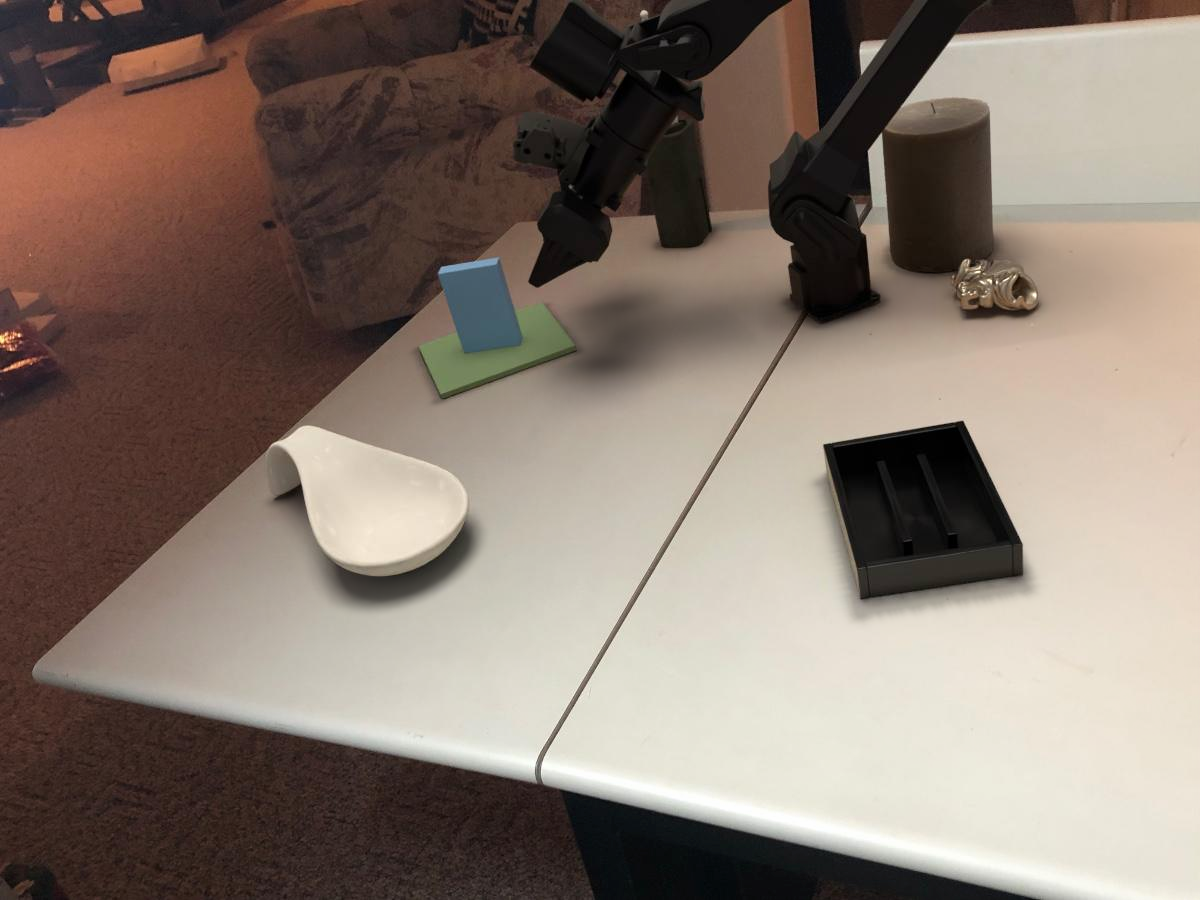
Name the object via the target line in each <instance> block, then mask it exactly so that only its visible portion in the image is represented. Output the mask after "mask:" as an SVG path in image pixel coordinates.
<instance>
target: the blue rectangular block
mask: <svg viewBox="0 0 1200 900" xmlns="http://www.w3.org/2000/svg"><path fill="white" fill-rule="evenodd" d="M437 276H438V279H439V282H440V285H441V288H442V290H443V294H444V297H445V300H446V304H447V306H448V309H449V312H450V315H451V318H452V321H453V325H454V327H455V330H456V332H457V333H458V336H459V339H460V342H461V345H462V348H463V351H464V353H470V352H476V351H483V350H490V349H497V348H504V347H510V346H517V345H520V344H521V341H522V338H523V336H522V333H521V330H520V326H519V323H518V319H517V316H516V313H515V311H516V308H515V307H514V302H513V300H512V299H513V298H512V296H511V292H510V289H509V287H508V286H509V285H508V283H507V279H506V275H505V272H504V269H503V265H502V262H501V259H500V257H492V258H487V259H481V260H475V261H469V262H462V263H457V264H451V265H444V266H441V267H440V269H439V270H438V273H437Z"/></svg>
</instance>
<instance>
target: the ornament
mask: <svg viewBox="0 0 1200 900" xmlns="http://www.w3.org/2000/svg"><path fill="white" fill-rule="evenodd" d="M970 264H971V260H970V259H965V260H963V261H962V263H961V265H960V267H959V269H957V271H956V273H955V274H952V275H951V276H950V279H951V287H952V288H953V289H955V290H956V296H957V298H958V299H960V305H961V308H962V309H963V310H976V309H978V308H979V306H981V307H983V308H985V309H989V308H992V307H993V305H994V304H995V305H996V306H997V307H999V308H1001V309H1002V310H1005V311H1013V312H1014V311H1020V310H1027V311H1028V310H1029V311H1030V310H1033V309H1035V308H1036V307H1037V304H1038V302H1039V298H1040V297H1039V296H1040V294H1039V289H1038V288H1037V285H1036V283H1035V282H1034V279H1032V277H1031V276H1029V275H1028V274H1027V273H1025V272H1024V267H1023V265H1021V264H1020V263H1017V262H1014V261H1010V260H1007V259H1004V260H995V259H994V260H991V261H987V260H985V259H981V260H976V261H975V264H974V265H973V266H971V265H970ZM1015 295H1016V296H1017V295H1018V297H1017V298H1016V297H1014V296H1015Z"/></svg>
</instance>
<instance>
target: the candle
mask: <svg viewBox="0 0 1200 900" xmlns="http://www.w3.org/2000/svg"><path fill="white" fill-rule="evenodd" d="M639 17H640V18H641V21H643V20H646V19H649V12H648V11H647V10H645V9H643V10H641V11H640V13H639ZM644 171H645V175H646V181H647V184H648V189H649V193H650V198H651V199H650V200H651V204H652V209H653V214H654V218H655V219H654V220H655V223H656V224H655V225H656V229H657V232H658V233H657V234H658V239H659V243H660V246H661V247H662V248H694V247H698V246H700V245H701V244H703V243H704V240H705V238H706V237H707V236H708V234H710V233H712V231H713V227H712V221H711V214H710V210H709V203H708V198H707V197H708V196H707V192H706V187H705V181H704V175H703V170H702V163H701V157H700V153H699V148H698V141H697V135H696V130H695V125H694V119H691V118H686V115H683V114H680V113H679V114H678V115H677V117H676V118H675V120H674V121H673V123H672V124H671V126H670V127H669V129H668V130H667V131H666V133H665V134H664V136H663V137H662V139H661V140H660V142H659V143H658V145H657V146H656V148H655V149H654V150H653V152H652V153H651V155H650V156H649V158H648V162H647V167H646V169H645V170H644Z"/></svg>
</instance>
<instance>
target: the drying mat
mask: <svg viewBox="0 0 1200 900" xmlns="http://www.w3.org/2000/svg"><path fill="white" fill-rule="evenodd" d="M515 313H516V316H517V319H518V323H519V326H520V330H521V333H522V336H523V338H522V341H521V344H520V345H517V346H510V347H504V348H497V349H490V350H483V351H476V352H470V353H464V351H463V348H462V345H461V342H460V339H459V336H458V333H457V331H456V332H453V333H450V334H448V335H445V336H441V337H439V338H436V339H433V340H430V341H427V342H425V343H421V344H419V345H418V350H419V352H420V354H421V356H422V358H423V360H424V362H425V365H426V367H427V369H428V371H429V374H430V376H431V378H432V380H433V382H434V385H435V387H436V390H437V391H438V393H439V395H440V398H441V399H442V400H444V399H446V398H449V397H451V396H454V395H457V394H460V393H463V392H467V391H468V390H471V389H474V388H476V387H479V386H483V385H485V384H487V383H490V382H492V381H493V382H494V381H495V380H498V379H502V378H504V377H507V376H511V375H512V374H515V373H518V372H521V371H524V370H526V369H529V368H532V367H534V366H537V365H540V364H542V363H545V362H549V361H551V360H553V359H556V358H559V357H561V356H564V355H568V354H571V353H573V352H575V351H577V347H576V345H575V343H574V342H573V340H572V339H571V338H570V336H569V335H568V334H567V332H566V331H565V330H564V328H563V327H562V325H560V323H559V322H558V320H557V319H556V318H555V317H554V316H553V314H552V313H551V312H550V310H549V309H548V308H547V306H546V305H545V303H544V302H543V301H541V302H538V303H535V304H533V305H530V306H527V307H524V308H521V309H517V310H515Z"/></svg>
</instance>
